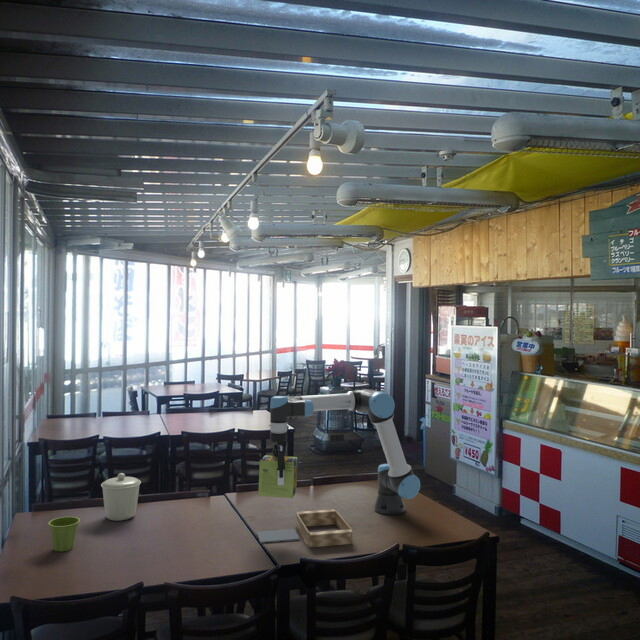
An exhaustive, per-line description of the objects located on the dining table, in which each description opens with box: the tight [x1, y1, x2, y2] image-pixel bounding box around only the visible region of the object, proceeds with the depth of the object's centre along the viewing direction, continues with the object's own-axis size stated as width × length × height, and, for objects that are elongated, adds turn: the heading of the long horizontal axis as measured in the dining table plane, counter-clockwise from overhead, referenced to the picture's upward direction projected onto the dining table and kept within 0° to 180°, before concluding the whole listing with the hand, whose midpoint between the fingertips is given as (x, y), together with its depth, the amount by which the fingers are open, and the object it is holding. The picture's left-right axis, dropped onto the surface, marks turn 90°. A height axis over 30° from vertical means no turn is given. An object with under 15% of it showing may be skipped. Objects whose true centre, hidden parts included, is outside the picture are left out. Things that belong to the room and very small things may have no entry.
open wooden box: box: [295, 508, 353, 548], centre depth 255 cm, size 19×30×6 cm, turn 14°
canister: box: [100, 472, 142, 522], centre depth 275 cm, size 18×18×21 cm
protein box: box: [257, 454, 298, 499], centre depth 252 cm, size 10×15×16 cm
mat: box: [256, 528, 300, 544], centre depth 252 cm, size 17×12×1 cm
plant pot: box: [48, 516, 81, 553], centre depth 236 cm, size 12×12×11 cm
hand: (278, 481), depth 252 cm, fingers closed on protein box, 12 cm apart
